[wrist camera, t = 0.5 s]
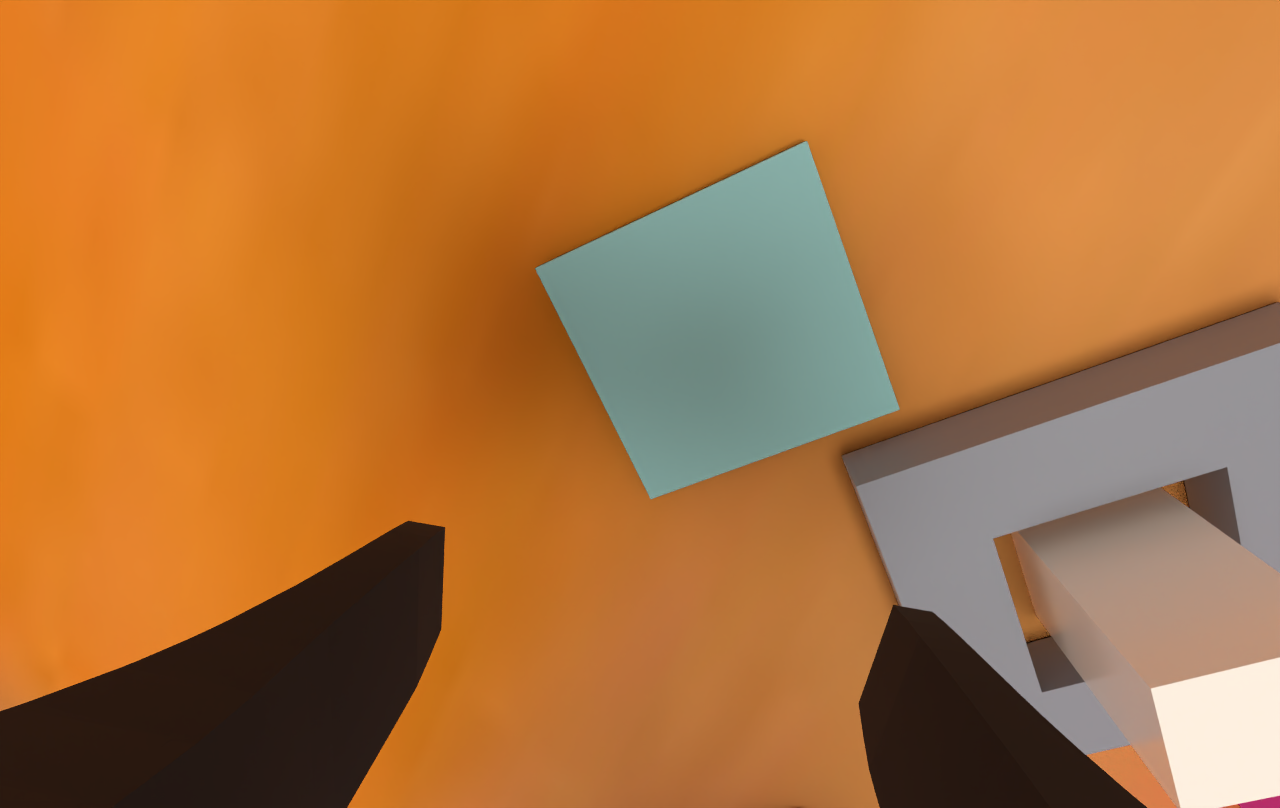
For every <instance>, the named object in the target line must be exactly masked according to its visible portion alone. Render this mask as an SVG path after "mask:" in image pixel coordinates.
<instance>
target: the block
mask: <svg viewBox="0 0 1280 808" xmlns="http://www.w3.org/2000/svg"><path fill="white" fill-rule="evenodd" d="M1011 536H1012V539H1013V542H1014V545H1015V549H1016V552H1017V555H1018V558H1019V562H1020V565H1021V568H1022V571H1023V575H1024V578H1025V581H1026V584H1027V588H1028V591H1029V594H1030V598H1031V601H1032V604H1033V607H1034V611H1035V614H1036V616H1037V617H1038V619H1039V620H1040V621H1041V623H1042V624H1043V626H1044V627H1045V628H1046V630H1047V631H1048V632H1049V634H1050V635H1051V636H1052V638H1053V639H1054V641H1055V642H1056V643H1057V645H1058V646H1059V647H1060V649H1061V650H1062V651H1063V653H1064V654H1065V656H1066V657H1067V658H1068V660H1069V661H1070V662H1071V664H1072V665H1073V666H1074V668H1075V669H1076V671H1077V672H1078V673H1079V675H1080V676H1081V677H1082V679H1083V680H1084V681H1085V683H1086V684H1087V686H1088V687H1089V688H1090V690H1091V691H1092V692H1093V694H1094V695H1095V696H1096V698H1097V699H1098V701H1099V702H1100V703H1101V705H1102V706H1103V707H1104V709H1105V710H1106V711H1107V713H1108V714H1109V716H1110V717H1111V718H1112V720H1113V721H1114V722H1115V724H1116V725H1117V726H1118V728H1119V729H1120V731H1121V732H1122V733H1123V735H1124V736H1125V737H1126V739H1127V740H1128V742H1129V743H1130V744H1131V746H1132V747H1133V748H1134V750H1135V751H1136V752H1137V754H1138V755H1139V757H1140V758H1141V759H1142V761H1143V762H1144V763H1145V765H1146V766H1147V767H1148V769H1149V770H1150V772H1151V773H1152V774H1153V776H1154V777H1155V778H1156V780H1157V781H1158V782H1159V784H1160V785H1161V787H1162V788H1163V789H1164V791H1165V792H1166V793H1167V795H1168V796H1169V797H1170V799H1171V800H1172V802H1173V803H1174V804H1175V806H1176V807H1177V808H1220V807H1225V806H1230V805H1235V804H1240V803H1245V802H1250V801H1255V800H1260V799H1265V798H1270V797H1275V796H1280V573H1279V572H1277V571H1276V570H1275V569H1273V568H1272V567H1270V566H1269V565H1268V564H1266V563H1265V562H1264V561H1262V560H1261V559H1259V558H1258V557H1257V556H1255V555H1254V554H1252V553H1251V552H1250V551H1248V550H1247V549H1245V548H1244V547H1243V546H1241V545H1240V544H1238V543H1237V542H1236V541H1234V540H1233V539H1232V538H1230V537H1229V536H1227V535H1226V534H1225V533H1223V532H1222V531H1220V530H1219V529H1218V528H1216V527H1215V526H1213V525H1212V524H1211V523H1209V522H1208V521H1206V520H1205V519H1204V518H1202V517H1201V516H1199V515H1198V514H1197V513H1195V512H1194V511H1193V510H1191V509H1190V508H1188V507H1187V506H1186V505H1184V504H1183V503H1181V502H1180V501H1179V500H1177V499H1176V498H1174V497H1173V496H1172V495H1170V494H1169V493H1167V492H1166V491H1165V490H1163V489H1162V488H1156V489H1153V490H1150V491H1147V492H1143V493H1140V494H1137V495H1134V496H1130V497H1127V498H1124V499H1121V500H1117V501H1114V502H1111V503H1107V504H1104V505H1101V506H1098V507H1094V508H1091V509H1088V510H1085V511H1081V512H1078V513H1075V514H1071V515H1068V516H1065V517H1062V518H1058V519H1055V520H1052V521H1049V522H1045V523H1042V524H1039V525H1035V526H1032V527H1029V528H1026V529H1022V530H1019V531H1016V532H1013V533H1011Z"/></svg>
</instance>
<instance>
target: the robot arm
mask: <svg viewBox="0 0 1280 808" xmlns="http://www.w3.org/2000/svg"><path fill="white" fill-rule="evenodd" d="M444 541H445V527H441V526H435V525H429V524H423V523H417V522H412V521H407V522H405V523H403V524H401V525H399V526H398V527H396V528H394V529H392V530H391V531H389V532H387V533H385V534H384V535H382V536H380V537H379V538H377V539H375V540H373V541H372V542H370V543H368V544H367V545H365V546H363V547H362V548H360V549H358V550H357V551H355V552H353V553H351V554H350V555H348V556H346V557H345V558H343V559H341V560H339V561H338V562H336V563H334V564H332V565H331V566H329V567H327V568H325V569H324V570H322V571H320V572H319V573H317V574H315V575H313V576H312V577H310V578H308V579H306V580H305V581H303V582H301V583H299V584H297V585H296V586H294V587H292V588H290V589H288V590H286V591H284V592H282V593H280V594H278V595H276V596H274V597H272V598H271V599H269V600H267V601H265V602H263V603H261V604H259V605H257V606H255V607H253V608H251V609H249V610H247V611H246V612H244V613H242V614H240V615H238V616H236V617H234V618H232V619H230V620H228V621H226V622H224V623H222V624H220V625H218V626H216V627H214V628H211V629H209V630H207V631H205V632H203V633H201V634H198V635H196V636H194V637H192V638H190V639H188V640H185V641H183V642H181V643H178V644H176V645H174V646H171V647H169V648H167V649H164V650H162V651H160V652H157V653H155V654H153V655H150V656H148V657H146V658H143V659H141V660H139V661H136V662H134V663H131V664H129V665H126V666H124V667H121V668H119V669H116V670H113V671H111V672H108V673H105V674H102V675H100V676H97V677H94V678H92V679H89V680H86V681H83V682H81V683H78V684H75V685H73V686H70V687H67V688H65V689H62V690H59V691H56V692H54V693H51V694H48V695H46V696H43V697H40V698H38V699H35V700H32V701H29V702H27V703H24V704H21V705H18V706H15V707H12V708H9V709H6V710H3V711H0V808H347V807H348V805H349V803H350V802H351V800H352V798H353V796H354V795H355V793H356V791H357V790H358V788H359V786H360V784H361V783H362V781H363V779H364V778H365V776H366V774H367V772H368V771H369V769H370V767H371V765H372V764H373V762H374V760H375V759H376V757H377V755H378V753H379V752H380V750H381V748H382V747H383V745H384V743H385V741H386V740H387V738H388V736H389V735H390V733H391V731H392V729H393V728H394V726H395V724H396V722H397V721H398V719H399V717H400V715H401V714H402V712H403V710H404V708H405V707H406V705H407V703H408V701H409V700H410V698H411V696H412V694H413V692H414V691H415V689H416V687H417V685H418V683H419V680H420V678H421V676H422V673H423V671H424V669H425V667H426V664H427V662H428V660H429V657H430V655H431V653H432V650H433V648H434V645H435V643H436V641H437V638H438V636H439V633H440V631H441V621H442V594H443V568H444ZM859 709H860V716H861V723H862V730H863V737H864V743H865V748H866V754H867V760H868V766H869V771H870V774H871V778H872V782H873V785H874V789H875V792H876V796H877V799H878V803H879V806H880V808H1147V807H1146V806H1145V805H1143V804H1142V803H1141V802H1140V801H1139V800H1137V799H1136V798H1135V797H1134V796H1132V795H1131V794H1130V793H1129V792H1128V791H1127V790H1125V789H1124V788H1123V787H1122V786H1121V785H1120V784H1118V783H1117V782H1116V781H1115V780H1114V779H1113V778H1112V777H1110V776H1109V775H1108V774H1107V773H1106V772H1105V771H1104V770H1102V769H1101V768H1100V767H1099V766H1098V765H1097V764H1096V763H1094V762H1093V761H1092V760H1091V759H1090V758H1089V757H1088V756H1086V755H1085V754H1084V753H1083V752H1082V751H1081V750H1080V749H1078V748H1077V747H1076V746H1075V745H1074V744H1073V743H1072V742H1071V741H1070V740H1068V739H1067V738H1066V737H1065V736H1064V735H1063V734H1062V733H1061V732H1060V731H1059V730H1058V729H1056V728H1055V727H1054V726H1053V725H1052V724H1051V723H1050V722H1049V721H1048V720H1047V719H1046V718H1045V717H1044V716H1042V715H1041V714H1040V713H1039V712H1038V711H1037V710H1036V709H1035V708H1034V707H1033V706H1032V705H1031V704H1030V703H1029V702H1028V701H1027V700H1026V699H1024V698H1023V697H1022V696H1021V695H1020V694H1019V693H1018V692H1017V691H1016V690H1015V689H1014V688H1013V687H1012V686H1011V685H1010V684H1009V683H1008V682H1007V681H1006V680H1005V679H1004V678H1003V677H1002V676H1001V675H1000V674H998V673H997V672H996V671H995V670H994V669H993V668H992V667H991V666H990V665H989V664H988V663H987V662H986V661H985V660H984V659H983V658H982V657H981V656H980V655H979V654H978V653H977V652H976V651H975V650H974V649H973V648H972V647H971V646H970V645H969V644H967V643H966V642H965V641H964V640H963V639H962V638H961V637H960V636H959V635H958V634H957V633H956V632H955V631H954V630H953V629H952V628H951V627H949V626H948V625H947V624H946V623H945V622H944V621H943V620H942V619H940V618H939V617H938V616H937V615H936V614H935V613H933V612H931V611H926V610H920V609H914V608H908V607H903V606H897V605H893V608H892V610H891V613H890V616H889V619H888V622H887V625H886V627H885V630H884V633H883V636H882V639H881V642H880V644H879V647H878V650H877V653H876V656H875V659H874V662H873V664H872V667H871V670H870V673H869V676H868V679H867V681H866V684H865V687H864V690H863V693H862V696H861V698H860V701H859Z"/></svg>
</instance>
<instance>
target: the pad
mask: <svg viewBox="0 0 1280 808" xmlns="http://www.w3.org/2000/svg"><path fill="white" fill-rule="evenodd" d="M535 269H536V271H537V273H538V275H539V277H540V279H541V281H542V283H543V285H544V287H545V289H546V291H547V293H548V295H549V297H550V299H551V301H552V303H553V305H554V307H555V309H556V311H557V313H558V315H559V317H560V319H561V321H562V323H563V325H564V327H565V329H566V331H567V333H568V335H569V337H570V339H571V341H572V343H573V345H574V347H575V349H576V351H577V353H578V355H579V357H580V359H581V361H582V363H583V365H584V367H585V369H586V371H587V373H588V375H589V377H590V379H591V381H592V383H593V385H594V387H595V389H596V391H597V393H598V395H599V397H600V399H601V401H602V403H603V405H604V407H605V409H606V411H607V413H608V415H609V417H610V419H611V421H612V423H613V425H614V427H615V429H616V431H617V433H618V435H619V437H620V439H621V441H622V443H623V445H624V447H625V449H626V451H627V453H628V455H629V457H630V459H631V461H632V463H633V465H634V467H635V469H636V471H637V473H638V475H639V477H640V479H641V481H642V483H643V485H644V487H645V489H646V491H647V493H648V495H649V497H650V499H653V498H656V497H659V496H661V495H664V494H667V493H670V492H672V491H675V490H678V489H681V488H683V487H686V486H689V485H692V484H695V483H697V482H700V481H703V480H706V479H708V478H711V477H714V476H717V475H720V474H722V473H725V472H728V471H731V470H733V469H736V468H739V467H742V466H745V465H747V464H750V463H753V462H756V461H758V460H761V459H764V458H767V457H770V456H772V455H775V454H778V453H781V452H783V451H786V450H789V449H792V448H794V447H797V446H800V445H803V444H806V443H808V442H811V441H814V440H817V439H819V438H822V437H825V436H828V435H831V434H833V433H836V432H839V431H842V430H844V429H847V428H850V427H853V426H856V425H858V424H861V423H864V422H867V421H869V420H872V419H875V418H878V417H880V416H883V415H886V414H889V413H892V412H894V411H897V410H900V409H899V406H898V403H897V400H896V397H895V394H894V391H893V388H892V386H891V383H890V380H889V377H888V374H887V371H886V368H885V365H884V362H883V360H882V357H881V354H880V351H879V348H878V345H877V342H876V339H875V336H874V334H873V331H872V328H871V325H870V322H869V319H868V316H867V313H866V310H865V307H864V305H863V302H862V299H861V296H860V293H859V290H858V287H857V284H856V281H855V279H854V276H853V273H852V270H851V267H850V264H849V261H848V258H847V255H846V252H845V250H844V247H843V244H842V241H841V238H840V235H839V232H838V229H837V226H836V224H835V221H834V218H833V215H832V212H831V209H830V206H829V203H828V200H827V198H826V195H825V192H824V189H823V186H822V183H821V180H820V177H819V174H818V171H817V169H816V166H815V163H814V160H813V157H812V154H811V151H810V148H809V145H808V143H807V141H804V142H802V143H800V144H798V145H796V146H794V147H791V148H789V149H787V150H785V151H783V152H781V153H779V154H777V155H774V156H772V157H770V158H768V159H766V160H764V161H762V162H760V163H757V164H755V165H753V166H751V167H749V168H747V169H745V170H742V171H740V172H738V173H736V174H734V175H732V176H730V177H728V178H725V179H723V180H721V181H719V182H717V183H715V184H713V185H710V186H708V187H706V188H704V189H702V190H700V191H698V192H696V193H693V194H691V195H689V196H687V197H685V198H683V199H681V200H678V201H676V202H674V203H672V204H670V205H668V206H666V207H664V208H661V209H659V210H657V211H655V212H653V213H651V214H649V215H647V216H644V217H642V218H640V219H638V220H636V221H634V222H632V223H629V224H627V225H625V226H623V227H621V228H619V229H617V230H615V231H612V232H610V233H608V234H606V235H604V236H602V237H600V238H597V239H595V240H593V241H591V242H589V243H587V244H585V245H583V246H580V247H578V248H576V249H574V250H572V251H570V252H568V253H566V254H563V255H561V256H559V257H557V258H555V259H553V260H551V261H548V262H546V263H544V264H542V265H540V266H538V267H537V268H535Z"/></svg>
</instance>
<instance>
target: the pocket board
mask: <svg viewBox="0 0 1280 808" xmlns="http://www.w3.org/2000/svg"><path fill="white" fill-rule="evenodd" d="M842 459H843V461H844V464H845V467H846V469H847V472H848V474H849V477H850V480H851V482H852V485H853V487H854V490H855V493H856V495H857V498H858V500H859V503H860V505H861V508H862V511H863V513H864V516H865V518H866V521H867V524H868V526H869V529H870V531H871V534H872V537H873V539H874V542H875V544H876V547H877V549H878V552H879V555H880V557H881V560H882V562H883V565H884V568H885V570H886V573H887V575H888V578H889V581H890V583H891V586H892V588H893V591H894V593H895V596H896V599H897V601H898V604H899V606H903V607H908V608H914V609H920V610H926V611H931V612H933V613H935V614H936V615H937V616H938V617H939V618H940V619H942V620H943V621H944V622H945V623H946V624H947V625H948V626H949V627H951V628H952V629H953V630H954V631H955V632H956V633H957V634H958V635H959V636H960V637H961V638H962V639H963V640H964V641H965V642H966V643H967V644H969V645H970V646H971V647H972V648H973V649H974V650H975V651H976V652H977V653H978V654H979V655H980V656H981V657H982V658H983V659H984V660H985V661H986V662H987V663H988V664H989V665H990V666H991V667H992V668H993V669H994V670H995V671H996V672H997V673H998V674H1000V675H1001V676H1002V677H1003V678H1004V679H1005V680H1006V681H1007V682H1008V683H1009V684H1010V685H1011V686H1012V687H1013V688H1014V689H1015V690H1016V691H1017V692H1018V693H1019V694H1020V695H1021V696H1022V697H1023V698H1024V699H1026V700H1027V701H1028V702H1029V703H1030V704H1031V705H1032V706H1033V707H1034V708H1035V709H1036V710H1037V711H1038V712H1039V713H1040V714H1041V715H1042V716H1044V717H1045V718H1046V719H1047V720H1048V721H1049V722H1050V723H1051V724H1052V725H1053V726H1054V727H1055V728H1056V729H1058V730H1059V731H1060V732H1061V733H1062V734H1063V735H1064V736H1065V737H1066V738H1067V739H1068V740H1070V741H1071V742H1072V743H1073V744H1074V745H1075V746H1076V747H1077V748H1078V749H1080V750H1081V751H1082V752H1083V753H1084V754H1085V755H1087V754H1092V753H1096V752H1101V751H1105V750H1110V749H1114V748H1118V747H1123V746H1127V745H1131V744H1130V743H1129V742H1128V740H1127V739H1126V737H1125V736H1124V735H1123V733H1122V732H1121V731H1120V729H1119V728H1118V726H1117V725H1116V724H1115V722H1114V721H1113V720H1112V718H1111V717H1110V716H1109V714H1108V713H1107V711H1106V710H1105V709H1104V707H1103V706H1102V705H1101V703H1100V702H1099V701H1098V699H1097V698H1096V696H1095V695H1094V694H1093V692H1092V691H1091V690H1090V688H1089V687H1088V686H1087V684H1086V683H1085V681H1084V680H1083V679H1082V677H1081V676H1080V675H1079V673H1078V672H1077V671H1076V669H1075V668H1074V666H1073V665H1072V664H1071V662H1070V661H1069V660H1068V658H1067V657H1066V656H1065V654H1064V653H1063V651H1062V650H1061V649H1060V647H1059V646H1058V645H1057V643H1056V642H1055V641H1054V639H1053V638H1052V637H1049V638H1045V639H1041V640H1037V641H1034V642H1030V643H1026V641H1025V638H1024V635H1023V632H1022V628H1021V625H1020V622H1019V619H1018V616H1017V613H1016V610H1015V606H1014V603H1013V600H1012V597H1011V594H1010V591H1009V587H1008V584H1007V581H1006V578H1005V575H1004V572H1003V569H1002V565H1001V562H1000V559H999V556H998V553H997V550H996V547H995V543H994V540H993V538H996V537H999V536H1003V535H1006V534H1009V533H1013V532H1016V531H1019V530H1022V529H1026V528H1029V527H1032V526H1035V525H1039V524H1042V523H1045V522H1049V521H1052V520H1055V519H1058V518H1062V517H1065V516H1068V515H1071V514H1075V513H1078V512H1081V511H1085V510H1088V509H1091V508H1094V507H1098V506H1101V505H1104V504H1107V503H1111V502H1114V501H1117V500H1121V499H1124V498H1127V497H1130V496H1134V495H1137V494H1140V493H1143V492H1147V491H1150V490H1153V489H1156V488H1160V487H1163V486H1166V485H1170V484H1173V483H1176V482H1179V481H1183V480H1184V483H1185V488H1186V493H1187V498H1188V503H1189V507H1190V509H1191V510H1193V511H1194V512H1195V513H1197V514H1198V515H1199V516H1201V517H1202V518H1204V519H1205V520H1206V521H1208V522H1209V523H1211V524H1212V525H1213V526H1215V527H1216V528H1218V529H1219V530H1220V531H1222V532H1223V533H1225V534H1226V535H1227V536H1229V537H1230V538H1232V539H1233V540H1234V541H1236V542H1237V543H1238V544H1240V545H1241V546H1243V547H1244V548H1245V549H1247V550H1248V551H1250V552H1251V553H1252V554H1254V555H1255V556H1257V557H1258V558H1259V559H1261V560H1262V561H1264V562H1265V563H1266V564H1268V565H1269V566H1270V567H1272V568H1273V569H1275V570H1276V571H1277V572H1279V573H1280V303H1279V302H1277V303H1274V304H1272V305H1269V306H1266V307H1263V308H1260V309H1257V310H1254V311H1252V312H1249V313H1246V314H1243V315H1240V316H1237V317H1235V318H1232V319H1229V320H1226V321H1223V322H1220V323H1217V324H1215V325H1212V326H1209V327H1206V328H1203V329H1200V330H1198V331H1195V332H1192V333H1189V334H1186V335H1183V336H1181V337H1178V338H1175V339H1172V340H1169V341H1166V342H1163V343H1161V344H1158V345H1155V346H1152V347H1149V348H1146V349H1144V350H1141V351H1138V352H1135V353H1132V354H1129V355H1126V356H1124V357H1121V358H1118V359H1115V360H1112V361H1109V362H1107V363H1104V364H1101V365H1098V366H1095V367H1092V368H1089V369H1087V370H1084V371H1081V372H1078V373H1075V374H1072V375H1070V376H1067V377H1064V378H1061V379H1058V380H1055V381H1052V382H1050V383H1047V384H1044V385H1041V386H1038V387H1035V388H1033V389H1030V390H1027V391H1024V392H1021V393H1018V394H1015V395H1013V396H1010V397H1007V398H1004V399H1001V400H998V401H996V402H993V403H990V404H987V405H984V406H981V407H979V408H976V409H973V410H970V411H967V412H964V413H961V414H959V415H956V416H953V417H950V418H947V419H944V420H942V421H939V422H936V423H933V424H930V425H927V426H924V427H922V428H919V429H916V430H913V431H910V432H907V433H905V434H902V435H899V436H896V437H893V438H890V439H887V440H885V441H882V442H879V443H876V444H873V445H870V446H868V447H865V448H862V449H859V450H856V451H853V452H850V453H848V454H845V455H842Z"/></svg>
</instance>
